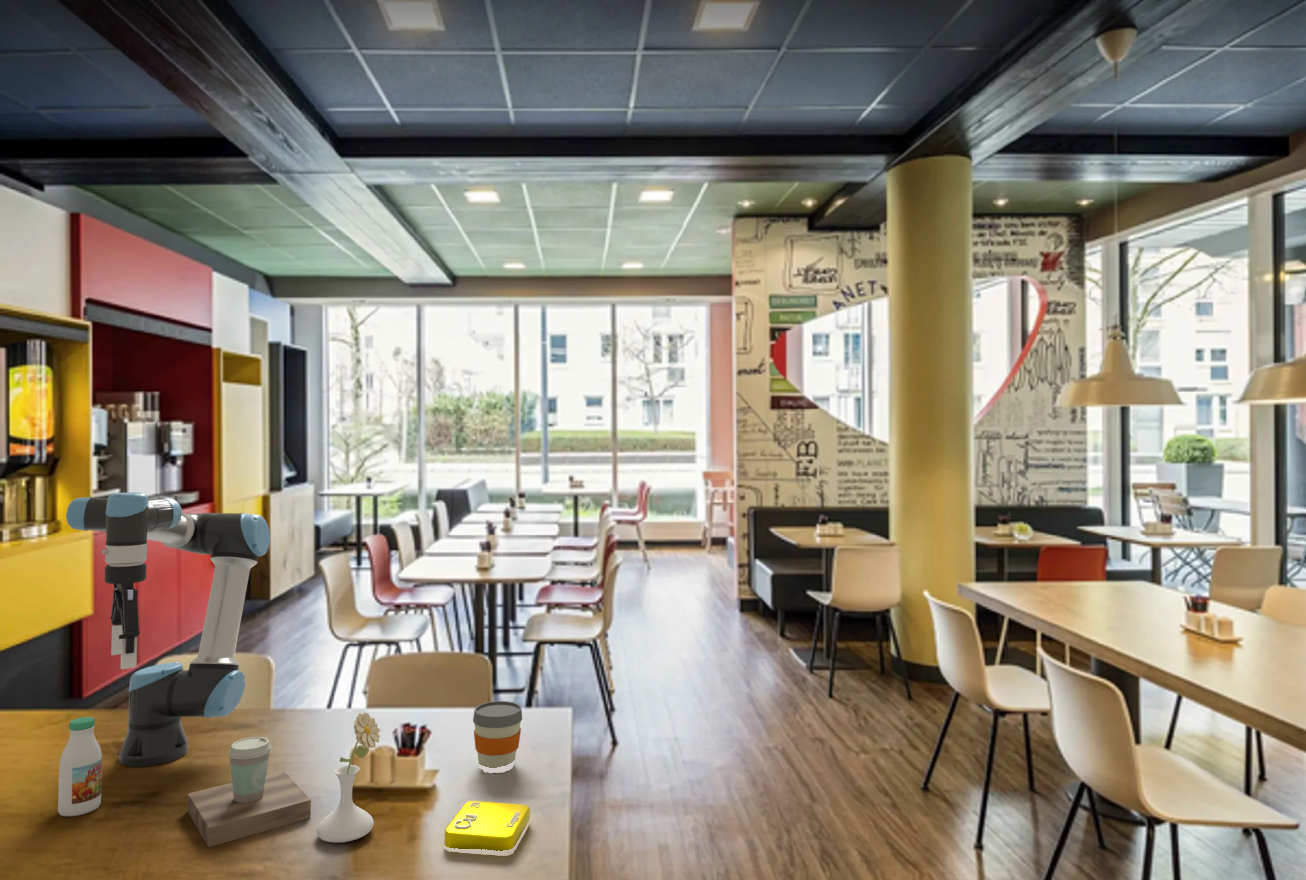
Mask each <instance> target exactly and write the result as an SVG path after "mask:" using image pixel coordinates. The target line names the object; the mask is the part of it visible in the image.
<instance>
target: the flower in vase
mask: <svg viewBox="0 0 1306 880" xmlns="http://www.w3.org/2000/svg"><path fill="white" fill-rule="evenodd" d="M353 723H354V725H353V729H354V734H355V736H356V737H355V740H356V742H355V745H354V749H353V752H352V755H351V758H344V757H340V759H339V762H340V763H348V764H347V765H342V766H339V767H337V768H336V769H335V770H334V774H335V775H336V777H337V778H338V780H339V785H340V787H339V788H340V801H339V803H338V806H337V807H336V808H335V809H334V810H332V811H331V812H330V813H329V814H328V815H326V816H325V817H324V818H323V819H322V820H321V821H320V823H318V826H317V828H316V835H317V836H318V838H319V839H321V840H322V841H325V842H328V843H339V844H340V843H347V842H352V841H354V840H358V839H360V838H362V837H364V836H366V835H367V834H369V833H370V832H371V830H372V829H373V827H374V824H375V821H374V819H373V816H372V815H371V814H370V813H368V812H367V811H366V810H364V809H362V808H361V807H359V806H357V805H356V804H355V803H354V802H353V801H354V800H353V787H354V786H353V785H354V781H355V777H356V776H357V774H358V772H359V771H360V769H361V768H360V766H358V765H355V764H352V762H353V758H354V755H356V756H357V757H358V758H361V759H363V758H364V757H366V756H367V754H368V753H369V749H375V748H376V743H379V742H380V737H381V736H380V734H379V733H380V732H381V729H380V727H378V726H379V725H378V723H376V720H375V718H374V717H371V716H370V714H369V712H365V711H364V712H363V713H361V712H359V713H358V715H357V716H356V719H355V720H354V722H353ZM358 744H360V745H358Z"/></svg>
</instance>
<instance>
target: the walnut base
mask: <svg viewBox="0 0 1306 880" xmlns="http://www.w3.org/2000/svg"><path fill="white" fill-rule="evenodd" d="M311 801H312V799H311V798H310V797H309V796H308V794H306V793H305V792H304V790H302V789H301V788H300V787H299V786H298V784H296V783H295V781H294V780H293V779H292V778H291V777H290V776H289V775H288V774H287V773H286V772H285V770H284V769H282V770H278V771H274V772H269V773H266V780H265V787H264V793H263V796H262V797H261V798H260V799H258V800H256V801H252V802H247V803H239V802H236V801H234V795H233V785H232V782H230V783H226V784H222V785H217V786H212V787H209V788H205V789H201V790H197V791H193V792H189V793H187V813H188V815H189V817H190V816H191V817H190V819H191V820H192V819H193V820H192V822H193V821H194V822H193V824H194V825H195V826H196V828H198V829H197V830H198V832H199V834H200V835H201V837H202V838H203V841H204V842H205V844H206V846H207V847H208V848H212V847H215V846H218V845H222V844H225V843H229V842H231V841H232V840H233V841H237V840H239V839H243V838H245V837H248V836H249V837H250V836H252V835H255V834H260V833H263V832H267V831H270V830H273V829H277V828H280V827H284V826H287V825H290V824H294V823H297V822H301V821H304V820H308V819H311V814H312V813H311V812H312V810H311V808H312V807H311V806H312V802H311ZM233 841H232V842H233Z"/></svg>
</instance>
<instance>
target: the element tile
mask: <svg viewBox="0 0 1306 880" xmlns="http://www.w3.org/2000/svg"><path fill="white" fill-rule="evenodd" d="M530 815H531V809H530V806H529V805H527V804H521V803H507V802H493V801H479V800H469V801H467V802H465V803H464V804H463V805H462V807H460V809H459V811H457V813H456V814H455V816H453V818H452V820H451V821H450V822H448V824H447V826H446V827H445V828H444V840H443V842H444V844H443V845H445V846H446V847H449V848H454V849H455V848H458V849H481V850H482V849H485V850H486V849H487V850H494V851H495V850H496V851H498V850H499V851H503V850H509V849H512V848H513V847H514V846H515V845H516V843H517V841H518V840H519V838H520V836H521V834H522V832H523V830H524V829H525V827H526V825H527V823H528V821H529V819H530V818H531V817H530ZM530 820H531V819H530Z"/></svg>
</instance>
